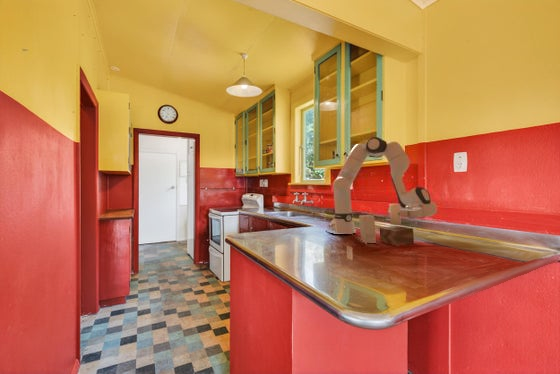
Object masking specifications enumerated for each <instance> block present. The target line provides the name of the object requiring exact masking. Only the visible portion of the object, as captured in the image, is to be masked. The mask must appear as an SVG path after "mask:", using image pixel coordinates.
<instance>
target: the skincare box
mask: <svg viewBox="0 0 560 374" xmlns="http://www.w3.org/2000/svg"><path fill="white" fill-rule="evenodd" d="M358 223H359V232H360V241H361V240H362V241H363V242H365V243H376V244H377V235H376V222H375V216H374V215H372V214H360V215H358ZM363 242H362V243H363Z"/></svg>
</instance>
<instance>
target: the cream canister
mask: <svg viewBox="0 0 560 374" xmlns="http://www.w3.org/2000/svg"><path fill="white" fill-rule="evenodd" d="M388 206H389V208H390V214H389V217H390V225H392V226H401V225H402V216H400V215H398V212H401V208H402V207H401V206H400V204H399V203H389V204H388Z"/></svg>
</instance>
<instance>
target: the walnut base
mask: <svg viewBox="0 0 560 374" xmlns="http://www.w3.org/2000/svg"><path fill="white" fill-rule="evenodd" d="M379 240H380V241H381V242H380V241H379V242H380V243H383V242H385V243H384V244H387V243H389V244H388V245H390V244H392V246H394V245H396V246H395V247H399V246H400V245H401V246H406V245H411V244H415V243H414V228H412V227H406V226H401V225H392V226H384V227H383V226H382V227H379Z"/></svg>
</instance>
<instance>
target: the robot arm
mask: <svg viewBox="0 0 560 374" xmlns="http://www.w3.org/2000/svg"><path fill="white" fill-rule="evenodd" d="M383 156H384V157H385V158H386V160H387V162H388V164H389V167H390V178H391V179H390V180H391V181H392V184H393V187H394V190H395V193H396V197H397V204H400V208H401V212H398V215H400V216H401V217H406V218H408V219H409V220H415V219H416V220H417V219H426V218H430V217H432V216H434V215H436V213H437V212H438V205H437V204H436V203H435V201H432V200H431V195H430V193H429V191H428V190H427V189H426V188H424V187H422V186H416V187H414V188H412V189H411V190H408V191H407V190H406V187H405V184H404V181H403V177H404V174H405V173H406V171H407V170H408V169H409V167H410V165H411V164H410V163H411V161H410V158H409V157H408V154H407V153H406V151H405V149H403V147H402V145H401V144H400V143H399V142H397V141H390V142H388V143H387V141H386V140H383V139H382V138H380V137H377V136H372V137H369V139H367V141H366V142H365V144H364V143H357V144H355V145H354V146H353V148H352V149H351V151H350V152H349V154H348V155H347V158H346V159H345V161H344V163H343V165H342V167H341V168H340V171H339V173H338V175H337V177H336V178H335V179H334V180H333V184H332V187H333V188H332V189H333V200H334V213H333V219H332V220H331V221H330V222H329V224H328V229H330V230H332V231H335V232H337V233H355V234H356V233H357V230H356V226H355V220H354V219H353V217H354V216H353V212H352V210H353V209H352V196H351V195H352V194H351V187H352V184H353V182H354V181H355V179H356V177H357V175H358V173H359V171H360V170H361V168H362V166H363V164H364V162H365V160H366V159H367V157H369V158H375V159H376V158H382V157H383ZM387 213H388V215H390V207H389V208H388V209H387Z"/></svg>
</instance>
